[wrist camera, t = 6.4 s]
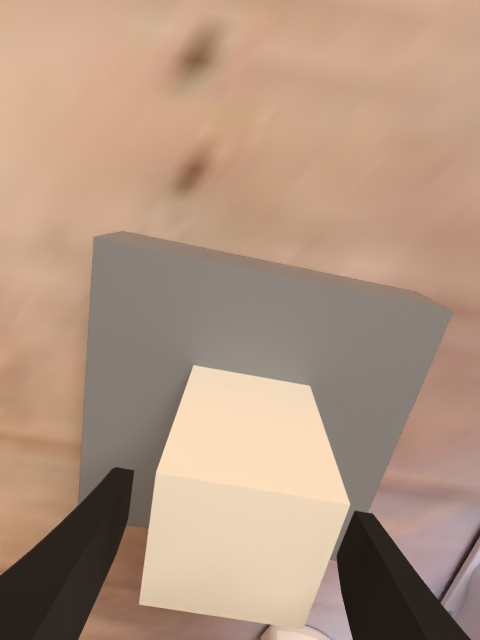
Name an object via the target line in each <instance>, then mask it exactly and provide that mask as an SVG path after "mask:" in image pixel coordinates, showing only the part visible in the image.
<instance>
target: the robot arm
mask: <svg viewBox="0 0 480 640" xmlns="http://www.w3.org/2000/svg"><path fill="white" fill-rule="evenodd" d="M133 477H134V470H130V469H124V468H119V467H114V468H113V469H111V470H110V471H109V473H108V474H107V475H106V476H105V477H104V478H103V480H102V481H101V482H100V483H99V484H98V485H97V486H96V487H95V488H94V490H93V491H92V492H91V493H90V494H89V495H88V496H87V497H86V498H85V499H84V500H83V501H82V502H81V503H80V504H79V505H78V506H77V507H76V508H75V509H74V510H73V511H72V512H71V513H70V514H69V515H68V516H67V517H66V518H65V519H64V520H63V521H62V522H61V523H60V524H59V525H58V526H57V527H56V528H55V529H54V530H52V531H51V532H50V533H49V534H48V535H47V536H46V537H45V538H44V539H42V540H41V541H40V542H39V543H38V544H37V545H36V546H35V547H34V548H33V549H31V550H30V551H29V552H28V553H27V554H26V555H25V556H23V557H22V558H21V559H20V560H19V561H17V562H16V563H15V564H14V565H13V566H11V567H10V568H9V569H8V570H7V571H5V572H4V573H3V574H2V575H0V640H78V639H79V636H80V634H81V632H82V630H83V628H84V625H85V623H86V621H87V619H88V616H89V614H90V612H91V610H92V607H93V605H94V603H95V601H96V599H97V596H98V594H99V592H100V590H101V587H102V585H103V583H104V581H105V578H106V576H107V574H108V572H109V569H110V567H111V565H112V563H113V560H114V558H115V556H116V553H117V550H118V548H119V545H120V542H121V539H122V536H123V533H124V530H125V527H126V524H127V521H128V517H129V509H130V501H131V493H132V485H133ZM336 557H337V565H338V572H339V579H340V586H341V592H342V597H343V601H344V605H345V610H346V614H347V618H348V622H349V626H350V630H351V634H352V638H353V640H480V537H479V539H478V540H477V542H476V544H475V545H474V547H473V549H472V551H471V552H470V554H469V556H468V557H467V559H466V561H465V562H464V564H463V566H462V568H461V569H460V571H459V573H458V574H457V576H456V578H455V579H454V581H453V583H452V585H451V586H450V588H449V590H448V591H447V593H446V595H445V596H444V598H443V600H442V602H441V603H440V602H439V600H438V599H437V598H436V597H435V595H434V594H433V593H432V592H431V590H430V589H429V588H428V587H427V585H426V584H425V583H424V581H423V580H422V579H421V578H420V576H419V575H418V574H417V572H416V571H415V570H414V568H413V567H412V566H411V564H410V563H409V562H408V560H407V559H406V558H405V556H404V555H403V554H402V552H401V551H400V550H399V548H398V547H397V546H396V544H395V543H394V541H393V540H392V539H391V537H390V536H389V535H388V533H387V532H386V531H385V529H384V528H383V526H382V525H381V524H380V522H379V521H378V520H377V519H376V517H375V516H374V515H373V514H372V513H366V512H361V511H354V513H353V516H352V518H351V520H350V523H349V525H348V528H347V530H346V533H345V535H344V538H343V540H342V542H341V545H340V547H339V550H338V552H337V555H336Z"/></svg>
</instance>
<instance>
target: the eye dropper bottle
mask: <svg viewBox="0 0 480 640" xmlns="http://www.w3.org/2000/svg"><path fill="white" fill-rule="evenodd" d="M260 640H331V639H330V638H329V637H327V636H326V635H324V634H323V633H321V632H320V631H318V630H316V629H314V628H311V627H309V626H306V625H305V626H304V628H303V629H297V628H291V627H284V626H277V625H270V626H269V627H268V628H267V630H266V631H265V632H264V633H263V635H262V636H261V639H260Z"/></svg>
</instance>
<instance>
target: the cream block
mask: <svg viewBox="0 0 480 640" xmlns="http://www.w3.org/2000/svg"><path fill="white" fill-rule="evenodd" d="M349 507H350V502H349V499H348V496H347V493H346V491H345V488H344V485H343V482H342V479H341V476H340V473H339V470H338V467H337V464H336V461H335V458H334V455H333V452H332V449H331V446H330V443H329V440H328V437H327V434H326V432H325V429H324V426H323V423H322V420H321V417H320V414H319V411H318V408H317V405H316V402H315V399H314V396H313V393H312V390H311V387H310V386H308V385H303V384H297V383H291V382H286V381H280V380H274V379H269V378H263V377H257V376H252V375H246V374H241V373H235V372H229V371H224V370H218V369H212V368H207V367H201V366H195V365H193V368H192V371H191V374H190V376H189V379H188V382H187V385H186V388H185V391H184V394H183V397H182V399H181V402H180V405H179V408H178V411H177V414H176V417H175V420H174V422H173V425H172V428H171V431H170V434H169V437H168V440H167V442H166V445H165V448H164V451H163V454H162V457H161V460H160V463H159V465H158V468H157V471H156V476H155V484H154V492H153V500H152V507H151V515H150V523H149V530H148V538H147V546H146V554H145V561H144V569H143V577H142V585H141V592H140V600H139V605H145V606H152V607H159V608H165V609H172V610H178V611H185V612H192V613H198V614H205V615H211V616H218V617H225V618H231V619H238V620H244V621H251V622H258V623H264V624H271V625H277V626H284V627H291V628H297V629H303V628H304V626H305V623H306V620H307V618H308V615H309V612H310V610H311V607H312V604H313V602H314V599H315V597H316V594H317V591H318V589H319V586H320V583H321V581H322V578H323V575H324V573H325V570H326V568H327V565H328V562H329V560H330V557H331V554H332V552H333V549H334V546H335V544H336V541H337V539H338V536H339V533H340V531H341V528H342V525H343V523H344V520H345V517H346V515H347V512H348V510H349Z"/></svg>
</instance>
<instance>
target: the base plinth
mask: <svg viewBox="0 0 480 640" xmlns="http://www.w3.org/2000/svg"><path fill="white" fill-rule="evenodd" d="M452 314H453V310H451V309H449V308H447V307H445V306H443V305H441V304H439V303H437V302H435V301H433V300H431V299H429V298H427V297H425V296H424V295H422V294H420V293H418V292H414V291H409V290H404V289H399V288H394V287H390V286H385V285H380V284H375V283H370V282H365V281H361V280H356V279H351V278H346V277H341V276H336V275H332V274H327V273H322V272H317V271H312V270H307V269H303V268H298V267H293V266H288V265H283V264H278V263H274V262H269V261H264V260H259V259H254V258H249V257H245V256H240V255H235V254H230V253H225V252H220V251H216V250H211V249H206V248H201V247H196V246H191V245H187V244H182V243H177V242H172V241H167V240H162V239H158V238H153V237H148V236H143V235H138V234H133V233H129V232H124V231H121V232H116V233H111V234H106V235H101V236H96V237H94V242H93V259H92V276H91V293H90V311H89V328H88V345H87V362H86V379H85V396H84V413H83V430H82V447H81V464H80V481H79V498H78V505H79V504H80V503H81V502H82V501H83V500H84V499H85V498H86V497H87V496H88V495H89V494H90V493H91V492H92V491H93V490H94V488H95V487H96V486H97V485H98V484H99V483H100V482H101V481H102V480H103V478H104V477H105V476H106V475H107V474H108V473H109V471H110V470H111V469H113V468H114V467H119V468H124V469H130V470H134V477H133V485H132V493H131V501H130V509H129V517H128V521H127V524H126V525H131V526H137V527H143V528H149V523H150V515H151V507H152V500H153V492H154V484H155V476H156V471H157V468H158V465H159V463H160V460H161V457H162V454H163V451H164V448H165V445H166V442H167V440H168V437H169V434H170V431H171V428H172V425H173V422H174V420H175V417H176V414H177V411H178V408H179V405H180V402H181V399H182V397H183V394H184V391H185V388H186V385H187V382H188V379H189V376H190V374H191V371H192V368H193V365H195V366H201V367H207V368H212V369H218V370H224V371H229V372H235V373H241V374H246V375H252V376H257V377H263V378H269V379H274V380H280V381H286V382H291V383H297V384H303V385H308V386H310V387H311V390H312V393H313V396H314V399H315V402H316V405H317V408H318V411H319V414H320V417H321V420H322V423H323V426H324V429H325V432H326V434H327V437H328V440H329V443H330V446H331V449H332V452H333V455H334V458H335V461H336V464H337V467H338V470H339V473H340V476H341V479H342V482H343V485H344V488H345V491H346V493H347V496H348V499H349V502H350V507H349V510H348V512H347V515H346V517H345V520H344V523H343V525H342V528H341V531H340V533H339V536H338V539H337V541H336V544H335V546H334V549H333V552H332V554H331V557H330V560H335V561H337V557H336V555H337V552H338V550H339V547H340V545H341V542H342V540H343V538H344V535H345V533H346V530H347V528H348V525H349V523H350V520H351V518H352V516H353V513H354V511H361V512H366V513H367V512H368V510H369V508H370V505H371V503H372V501H373V498H374V496H375V494H376V491H377V489H378V487H379V484H380V482H381V480H382V477H383V475H384V473H385V470H386V468H387V466H388V463H389V461H390V459H391V456H392V454H393V452H394V449H395V447H396V445H397V442H398V440H399V438H400V435H401V433H402V431H403V428H404V426H405V424H406V421H407V419H408V417H409V414H410V412H411V410H412V407H413V405H414V402H415V400H416V398H417V395H418V393H419V391H420V388H421V386H422V384H423V381H424V379H425V377H426V374H427V372H428V370H429V367H430V365H431V363H432V360H433V358H434V356H435V353H436V351H437V349H438V346H439V344H440V342H441V339H442V337H443V335H444V332H445V330H446V328H447V325H448V323H449V321H450V318H451V316H452Z"/></svg>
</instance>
